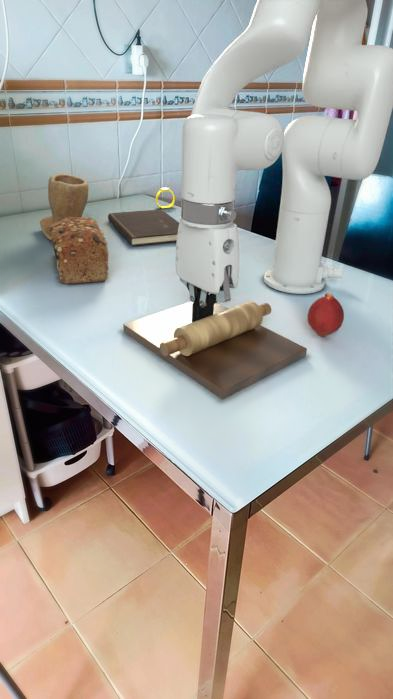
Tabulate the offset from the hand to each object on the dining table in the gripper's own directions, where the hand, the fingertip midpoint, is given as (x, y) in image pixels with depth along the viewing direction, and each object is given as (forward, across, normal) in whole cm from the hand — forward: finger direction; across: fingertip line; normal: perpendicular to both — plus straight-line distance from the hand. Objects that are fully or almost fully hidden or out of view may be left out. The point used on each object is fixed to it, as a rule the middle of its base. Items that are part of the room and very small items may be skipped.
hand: (202, 324), depth 77 cm
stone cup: (+3, +61, -8) cm, 62 cm away
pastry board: (+3, -2, 0) cm, 3 cm away
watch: (+3, +70, -46) cm, 84 cm away
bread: (+3, +40, +1) cm, 40 cm away
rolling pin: (+1, -4, 0) cm, 4 cm away
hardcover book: (+3, +54, -27) cm, 60 cm away
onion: (+3, -12, -17) cm, 21 cm away
